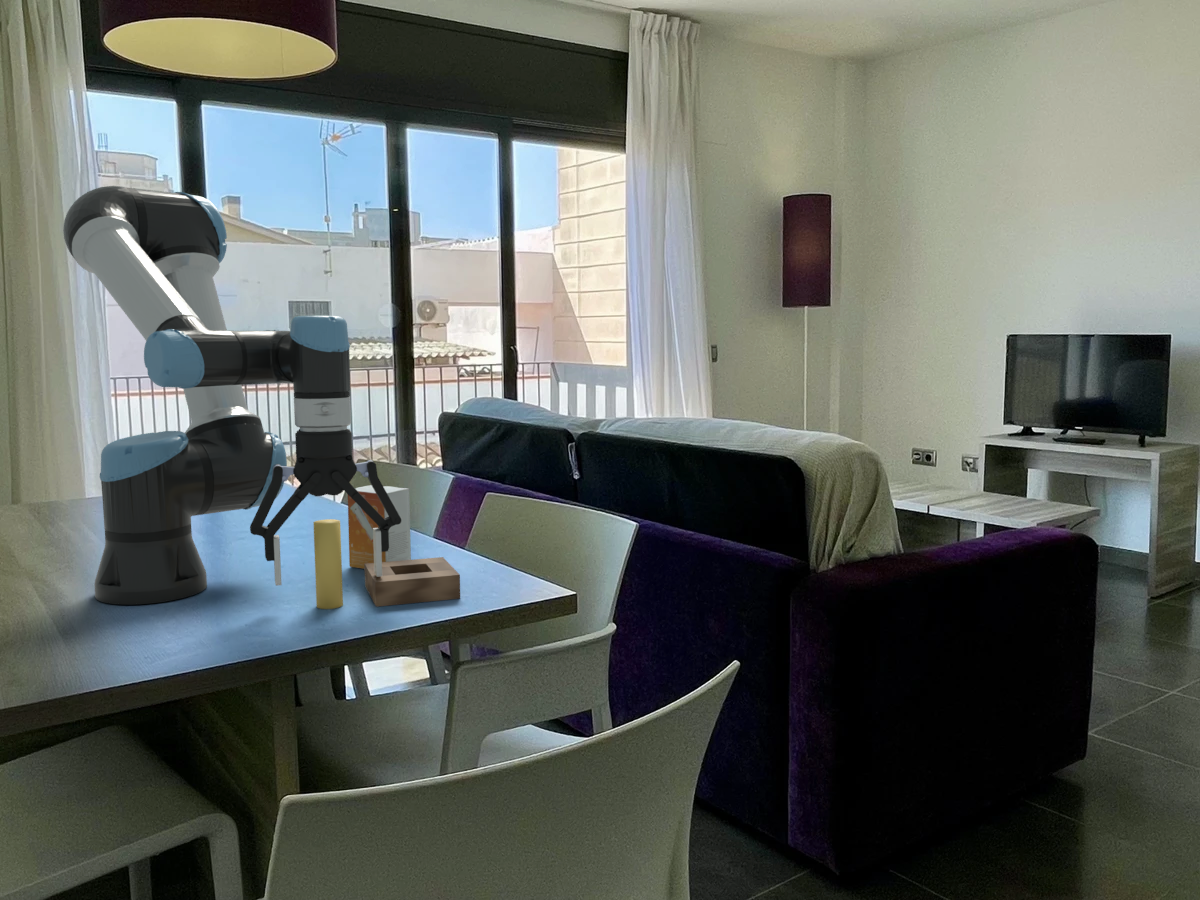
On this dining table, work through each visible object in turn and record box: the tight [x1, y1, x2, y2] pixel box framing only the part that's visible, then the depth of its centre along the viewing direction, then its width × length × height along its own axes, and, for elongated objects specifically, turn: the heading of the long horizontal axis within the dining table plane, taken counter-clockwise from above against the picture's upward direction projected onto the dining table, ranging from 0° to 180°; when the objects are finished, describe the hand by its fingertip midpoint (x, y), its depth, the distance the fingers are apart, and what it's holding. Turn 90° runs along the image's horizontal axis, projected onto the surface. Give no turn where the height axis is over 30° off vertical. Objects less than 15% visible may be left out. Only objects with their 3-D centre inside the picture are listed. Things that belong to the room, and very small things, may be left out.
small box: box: [347, 484, 412, 570], centre depth 159 cm, size 8×6×13 cm
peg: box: [313, 518, 344, 610], centre depth 136 cm, size 4×4×12 cm
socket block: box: [364, 556, 461, 607], centre depth 144 cm, size 12×12×4 cm
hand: (329, 579), depth 137 cm, fingers open, 13 cm apart
